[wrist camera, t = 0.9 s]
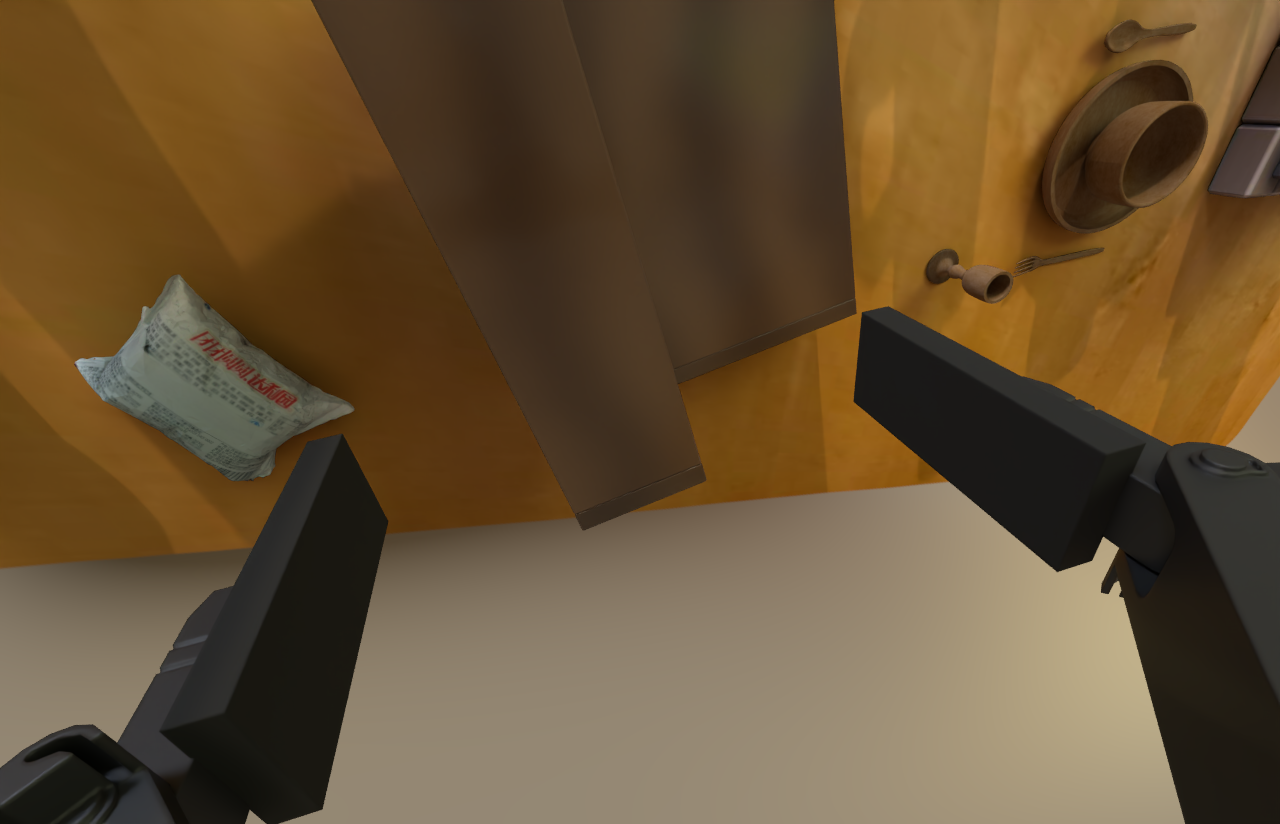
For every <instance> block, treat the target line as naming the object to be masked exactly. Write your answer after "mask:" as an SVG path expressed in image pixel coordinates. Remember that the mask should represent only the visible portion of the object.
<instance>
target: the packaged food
mask: <svg viewBox="0 0 1280 824" xmlns="http://www.w3.org/2000/svg"><path fill="white" fill-rule="evenodd" d="M162 299H163V300H162ZM94 358H95V359H94ZM74 365H75V366H76V367H77V368H78V370H79V371H80V373H81V374H82V375H83V377H84V378H85V380H86V381H87V382H88V383H89V385H90V386H91V387H92V388H93V389H94V391H95V392H96V393H97V394H98V395H99V396H100V397H101V398H102V399H103V401H105V402H107V403H109V404H111V405H113V406H115V407H117V408H119V409H120V410H122V411H124V412H126V413H128V414H130V415H132V416H134V417H135V418H137V419H139V420H141V421H143V422H145V423H146V424H148V425H150V426H152V427H154V428H156V429H158V430H160V431H161V432H162V433H163V434H164V435H166V436H167V437H168V438H170V439H172V440H174V441H175V442H177V443H178V444H180V445H181V446H183V447H184V448H186V449H187V450H189V451H190V452H192V453H193V454H195V455H196V456H198V457H199V458H200V459H202V460H203V461H205V462H206V463H207V464H209V465H212V466H213V467H214V468H215V469H217V470H218V471H219V472H220V473H222V474H223V475H224V476H226V477H227V478H228V479H229V480H232V481H242V480H245V481H248V480H251V481H253V480H254V478H256V477H259V476H260V477H262V478H263V477H265V476H268V475H270V474H271V472H272V470H273V468H274V467H275V454H276V448H278V447H279V446H280V445H281V444H283V443H284V442H285V441H287V440H288V439H290V438H291V437H292V436H295V435H298V434H300V433H302V432H305V431H307V430H309V429H311V428H314V427H315V426H317V425H320V424H323V423H325V422H327V421H329V420H333V419H337V418H339V417H341V416H343V415H346V414H349V413H351V412H353V411H354V410H355V409H354V407H353V406H352V405H351V404H350V403H349V402H346V401H345V400H342V399H340V398H338V397H336V396H332V395H330V394H328V393H324V392H322V390H321V389H319V388H317V387H315V386H313V385H311V384H310V383H308V382H307V381H306V380H304V379H303V378H301V377H300V376H298V375H296V374H295V373H293V372H292V371H290V370H289V369H287V368H286V367H284V366H283V365H281V364H280V363H278V362H277V361H275V360H274V359H273V358H272V357H270V356H269V355H268V354H266V353H265V352H264V351H263V350H261V349H259V348H257V347H255V346H253V345H252V344H251V343H250V342H249V341H248V340H247V339H246V338H245V337H244V336H243V335H242V334H241V333H240V332H239V331H238V330H237V329H236V328H235V327H233V326H232V325H231V324H230V323H229V322H228V321H227V320H225V319H224V318H223V317H222V316H221V315H220V314H219V313H217V312H216V311H215V310H214V309H213V308H212V307H211V306H210V305H209V304H207V303H206V302H205V301H204V300H203V299H202V298H201V297H200V296H199V295H197V294H196V293H195V291H194V290H193V289H192V288H191V287H190V286H189V285H188V284H187V283H186V282H185V280H184V279H183V278H182V277H181V276H180V275H174V276H172V277H170V278H169V279H168V281H167V283H166V285H165V287H164V289H163V292H162V293H161V295H160V296H159V297H158V298H157V300H156V303H155V305H154V306H153V307H152V308H151V309H149V307H145V306H144V307H143V309H142V316H141V320H140V322H139V323H138V326H137V328H136V330H135V331H134V333H133V334H132V336H131V337H130V338H129V340H128V341H127V342H126V343H125V344H124V346H123V347H122V348H121V349H120V350H119V352H118V353H117V354H116V355H115V356H114V357H93V358H90V359H83V358H81V359H79V360H78V361H76V362H75V364H74Z"/></svg>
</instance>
